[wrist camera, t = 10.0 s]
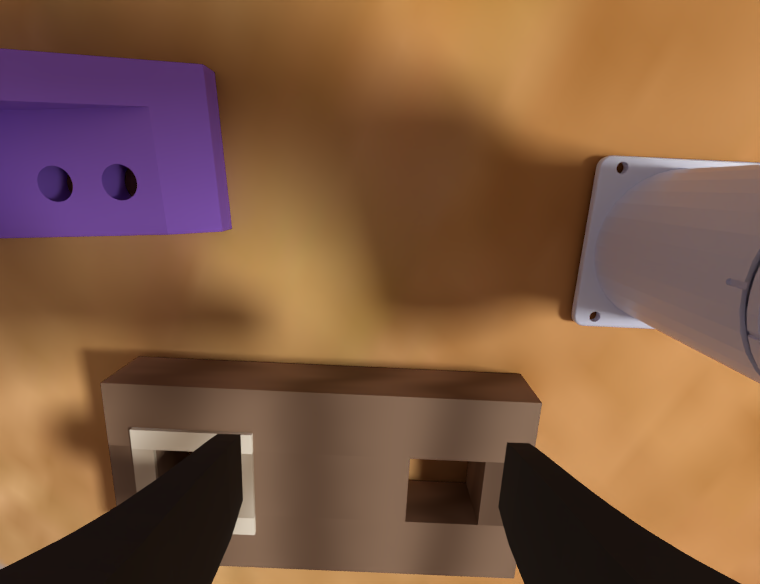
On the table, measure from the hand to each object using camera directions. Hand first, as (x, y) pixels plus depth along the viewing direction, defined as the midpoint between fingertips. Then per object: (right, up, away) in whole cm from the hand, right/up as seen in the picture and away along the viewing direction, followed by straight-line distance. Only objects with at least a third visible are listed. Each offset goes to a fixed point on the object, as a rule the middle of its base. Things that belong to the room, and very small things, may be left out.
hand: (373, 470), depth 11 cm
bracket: (-13, +11, +9) cm, 19 cm away
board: (-3, -4, +12) cm, 13 cm away
